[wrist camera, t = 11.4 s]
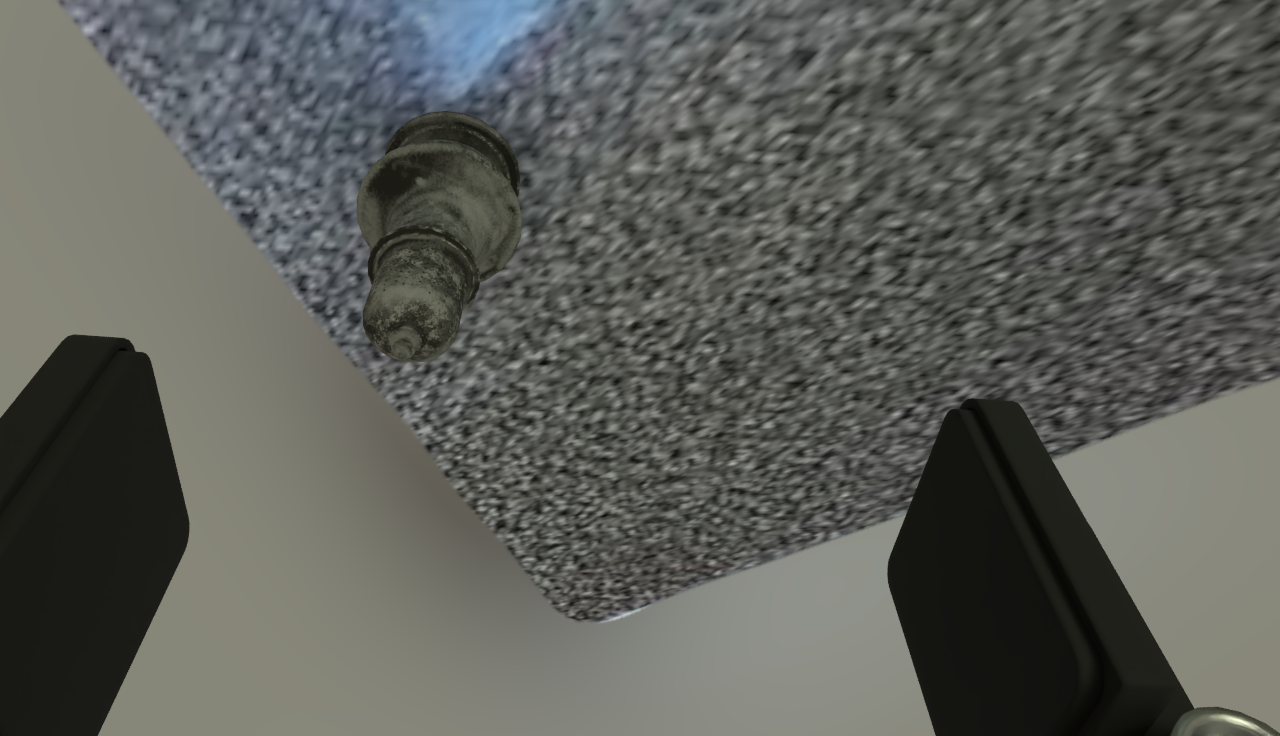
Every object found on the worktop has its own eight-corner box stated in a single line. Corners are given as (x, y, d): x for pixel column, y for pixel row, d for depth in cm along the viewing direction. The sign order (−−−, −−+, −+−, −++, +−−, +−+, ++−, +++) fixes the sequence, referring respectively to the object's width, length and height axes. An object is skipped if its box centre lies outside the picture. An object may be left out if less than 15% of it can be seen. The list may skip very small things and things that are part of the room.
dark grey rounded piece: (510, 257, 39) (481, 451, 29) (366, 222, 38) (287, 413, 28) (543, 127, 36) (523, 298, 26) (386, 84, 34) (304, 247, 25)
